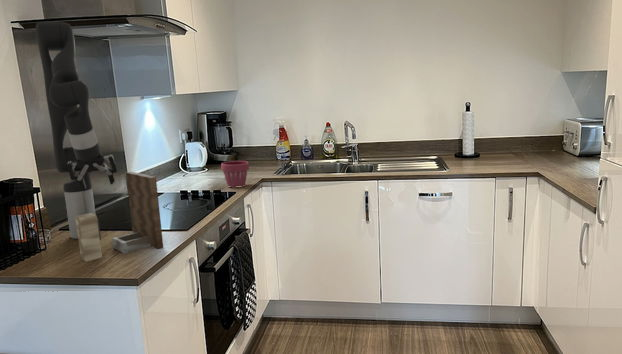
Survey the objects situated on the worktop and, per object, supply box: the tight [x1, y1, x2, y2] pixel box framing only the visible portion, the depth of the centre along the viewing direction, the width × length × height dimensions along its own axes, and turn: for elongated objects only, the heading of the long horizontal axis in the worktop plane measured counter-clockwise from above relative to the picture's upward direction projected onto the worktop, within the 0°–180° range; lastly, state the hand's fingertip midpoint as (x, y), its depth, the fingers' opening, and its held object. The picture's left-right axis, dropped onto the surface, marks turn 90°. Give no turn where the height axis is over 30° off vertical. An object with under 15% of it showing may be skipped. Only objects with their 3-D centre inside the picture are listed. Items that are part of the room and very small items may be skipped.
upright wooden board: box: [112, 171, 164, 255], centre depth 159 cm, size 18×11×24 cm, turn 45°
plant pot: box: [220, 160, 250, 187], centre depth 251 cm, size 14×14×13 cm
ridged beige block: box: [75, 213, 103, 263], centre depth 150 cm, size 4×6×14 cm
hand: (98, 185), depth 159 cm, fingers open, 8 cm apart
